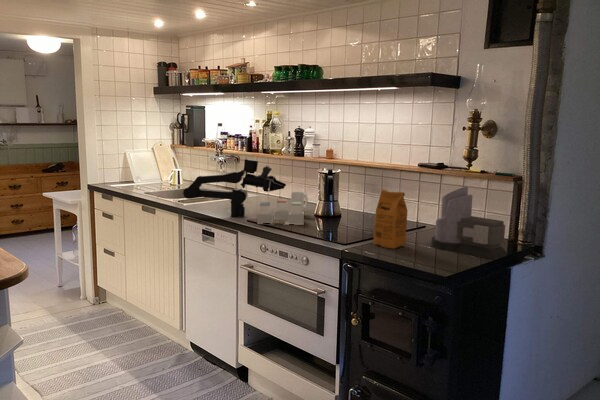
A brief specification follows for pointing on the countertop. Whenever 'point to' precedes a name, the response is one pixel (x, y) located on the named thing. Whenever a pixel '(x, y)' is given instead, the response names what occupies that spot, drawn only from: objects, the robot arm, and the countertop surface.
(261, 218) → the keypad
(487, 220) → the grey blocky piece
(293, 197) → the mug
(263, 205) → the key slate
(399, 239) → the coffee package
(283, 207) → the key terracotta
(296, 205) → the key sage
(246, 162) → the robot arm
